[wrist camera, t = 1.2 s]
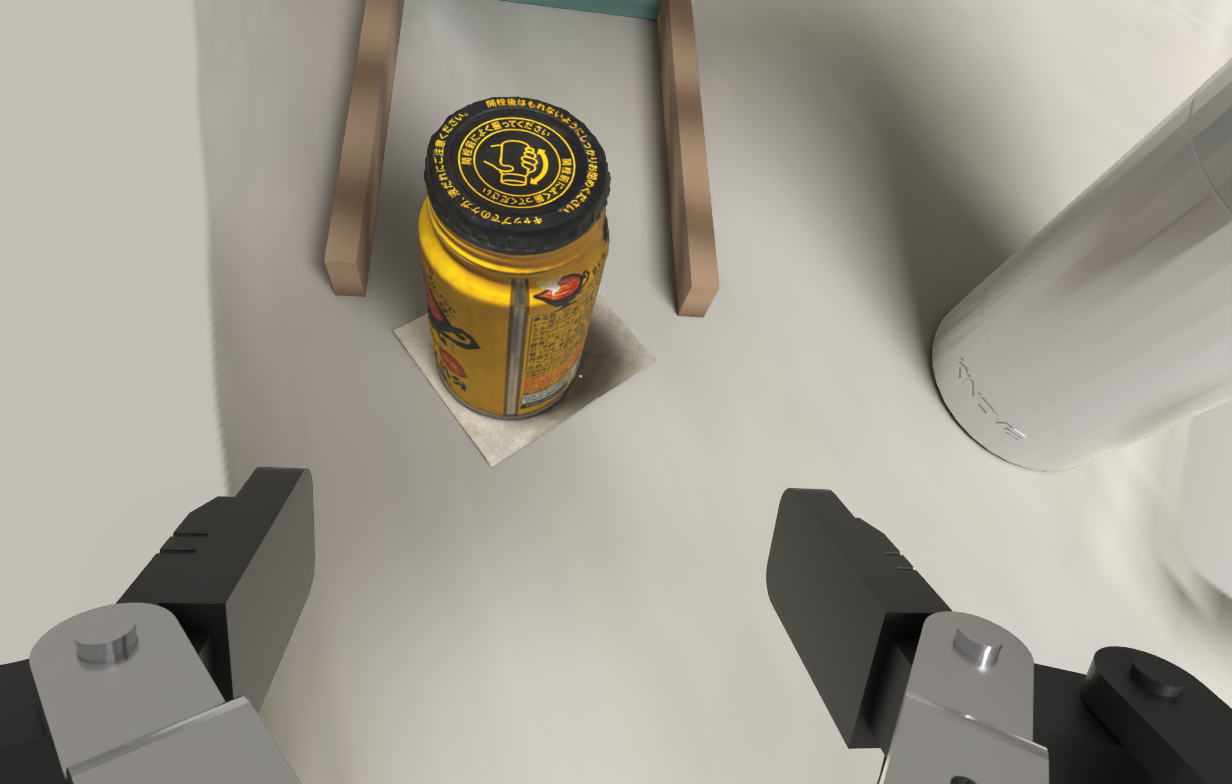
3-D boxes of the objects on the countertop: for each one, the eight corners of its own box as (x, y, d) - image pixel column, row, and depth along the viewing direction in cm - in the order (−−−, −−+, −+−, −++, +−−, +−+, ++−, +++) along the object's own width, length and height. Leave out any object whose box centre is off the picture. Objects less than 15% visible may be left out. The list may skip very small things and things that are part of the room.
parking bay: (703, 317, 34) (729, 267, 30) (335, 294, 31) (315, 237, 28) (676, 3, 42) (694, -64, 38) (384, -34, 40) (375, -110, 36)
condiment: (392, 332, 31) (345, 120, 20) (556, 245, 34) (590, 20, 23) (491, 469, 29) (497, 316, 18) (654, 363, 32) (740, 180, 22)
